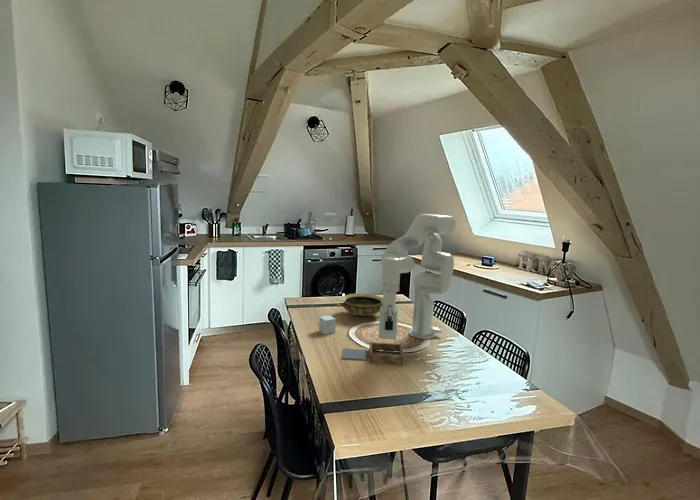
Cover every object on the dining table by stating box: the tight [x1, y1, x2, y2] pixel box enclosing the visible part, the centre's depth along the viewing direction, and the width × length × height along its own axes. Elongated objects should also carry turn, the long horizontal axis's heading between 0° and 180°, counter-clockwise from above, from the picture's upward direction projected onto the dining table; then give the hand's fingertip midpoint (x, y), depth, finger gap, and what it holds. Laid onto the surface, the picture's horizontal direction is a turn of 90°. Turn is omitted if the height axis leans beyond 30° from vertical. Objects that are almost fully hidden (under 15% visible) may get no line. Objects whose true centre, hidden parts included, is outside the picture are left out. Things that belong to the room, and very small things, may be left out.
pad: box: [341, 348, 367, 362], centre depth 181 cm, size 10×10×1 cm
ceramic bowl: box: [336, 292, 383, 319], centre depth 233 cm, size 30×24×10 cm
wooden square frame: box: [368, 341, 405, 366], centre depth 180 cm, size 14×14×4 cm
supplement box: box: [378, 305, 399, 341], centre depth 178 cm, size 7×7×13 cm
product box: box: [318, 315, 337, 336], centre depth 207 cm, size 6×6×7 cm
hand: (388, 326), depth 179 cm, fingers closed on supplement box, 7 cm apart
